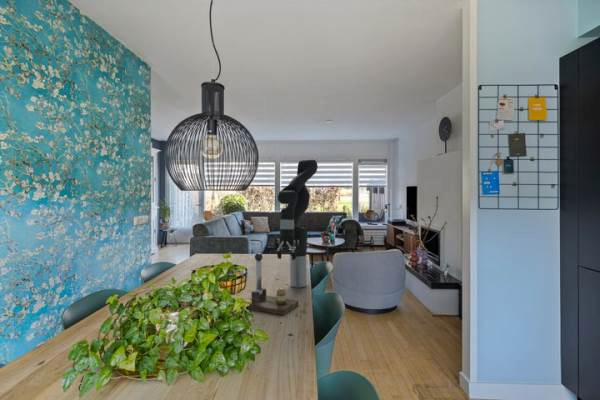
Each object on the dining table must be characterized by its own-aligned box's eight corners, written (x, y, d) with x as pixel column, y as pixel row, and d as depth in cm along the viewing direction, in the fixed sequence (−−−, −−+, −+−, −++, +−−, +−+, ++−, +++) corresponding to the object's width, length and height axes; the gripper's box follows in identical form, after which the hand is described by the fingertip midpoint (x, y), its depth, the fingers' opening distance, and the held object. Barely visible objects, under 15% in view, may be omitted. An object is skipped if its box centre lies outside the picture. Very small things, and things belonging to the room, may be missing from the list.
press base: (258, 298, 154) (258, 285, 154) (298, 305, 144) (298, 290, 144) (241, 307, 141) (241, 293, 141) (283, 315, 131) (282, 299, 131)
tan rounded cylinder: (279, 301, 143) (279, 286, 143) (287, 302, 141) (287, 287, 141) (274, 304, 139) (274, 288, 139) (283, 306, 137) (282, 290, 137)
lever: (258, 294, 148) (257, 252, 147) (264, 295, 146) (264, 252, 146) (253, 296, 144) (253, 253, 144) (260, 297, 143) (259, 254, 143)
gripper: (302, 228, 165) (301, 259, 164) (279, 227, 172) (278, 257, 171) (295, 228, 158) (294, 261, 157) (271, 228, 165) (271, 258, 164)
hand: (286, 259), depth 164 cm, fingers open, 8 cm apart
